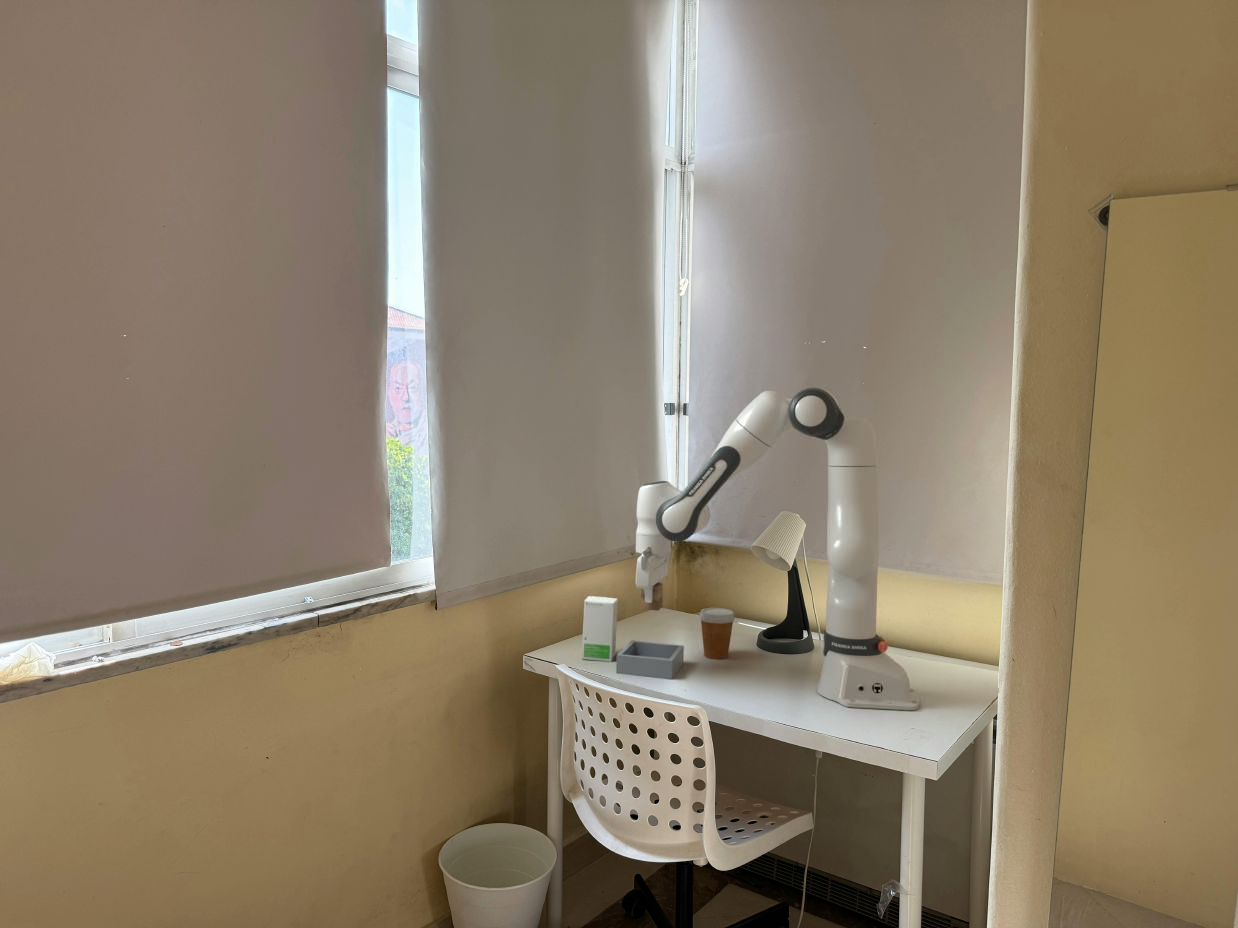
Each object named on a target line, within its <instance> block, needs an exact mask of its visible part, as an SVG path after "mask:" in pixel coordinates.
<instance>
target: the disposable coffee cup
mask: <svg viewBox="0 0 1238 928" xmlns="http://www.w3.org/2000/svg"><path fill="white" fill-rule="evenodd" d="M698 616H699V619H700V623H701V625H700V626H701V636H702V646H703V656H704V657H706V658H708V659H712V660H725V659H726V658H728V657H729V652H730V651H729V650H730V645H731V637H732V631H733V624H734V621H735V619H736V616H735V613H734V612H733V610H731V609H727V608H723V607H722V608H721V607H707V608H703V609H701V610H700V614H699V615H698Z"/></svg>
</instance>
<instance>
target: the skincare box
mask: <svg viewBox="0 0 1238 928" xmlns="http://www.w3.org/2000/svg"><path fill="white" fill-rule="evenodd" d="M618 602H619V599H618V598H613V597H605V596H595V595H594V596H593V595H589V596H587V597H586V598H585V599H584V602H583V603H584V604H583V605H584V606H583V622H582V626H583V627H582V643H581V645H582V647H581V660H588V661H589V660H590V661H601V662H608V663H609V662H611V663H612V661H613V660H614V657H616V656H615V655H616V642H617V624H618Z"/></svg>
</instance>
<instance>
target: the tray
mask: <svg viewBox="0 0 1238 928" xmlns="http://www.w3.org/2000/svg"><path fill="white" fill-rule="evenodd" d="M684 653H685V645H682V644H671V643H662V642H653V641H642V640H635V639H634V640H633V639H632V640H630V642H628V644H626V645H625V646H624V647H623V648H622V649H621V650H620V651H619V652H618V653H617V654H616V663H615V664H616V667H615V670H616V674H621V675H631V676H641V677H648V678H657V679H665V680H672V679H674V677H675V675H676V674H677V672H678V671H679V670H680V668H681V667H682V665H684V657H685V656H684V655H685V654H684Z"/></svg>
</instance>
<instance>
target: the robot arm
mask: <svg viewBox="0 0 1238 928" xmlns="http://www.w3.org/2000/svg"><path fill="white" fill-rule="evenodd" d="M840 405H841V404H840V403H839V402H838V399H837V398H836V397H835V396H834V394H832V393H831V392H830V391H828V390H826V389H823V388H819V387H807V388H804V389H802V390H800V391H799V392H797V393H796V394H795V395H794V396H793V397H792V398H788V397H787V396H785V395H783V394H782V393H781V392H778V391H774V390H765V391H762V392H761V393H760V394H758V395H757V396H756V397H754V398H753V400H751V401H750V403H748V404H747V405H746V406H745V407H744V408H743V410H742V411H741V412H740V413H739V414H738V416H737V417H736V418H735V419H734V420H733V422H732V423H731V424H730V426H729V427H728V429H727V430H726V432H725V433H724V434H723V436H722V438H721V440H720V441H719V443H718V445H717V446H716V448H715V450H714V451H713V452H712V455H711V456H710V457H709V459H708V460H707V462H706V463H705V464H704V465H703V467H702V468H701V469H700V470H699V471H698V473H697V474H696V475H695V476H694V477H693V479H691V481H690V482H689V483H688V484H687V486H685V488H683V490H681V489H679V488H677V487H675V486H674V485H673V484H671V482H669V481H666V480H660V481H653V482H648V483H645V484H643V485H641V486H640V487H639V490H638V492H637V493H638V494H637V500H636V519H637V526H636V527H637V528H636V530H635V552H636V553H637V554H640V556H639V557H637V561H636V569H635V586H636V587H635V588H637V589H641V588H642V589H644V594H645V602H646V603H651V602H652V601H653V590H652V589H653V586H654V585H655V584H656V583H661V580H662V579H664V578H665V577H667V575H668V573H669V570H670V560H671V559H670V558H671V552H672V551H671V550H672V549H673V546H674V545H673V542H675V543H679V542H684V541H687V540H688V539H689V538H691V537H692V536H693V535H695V534H697V533H700V532H701V531H703V529H705V527H707V525H708V523H709V520H710V515H711V512H710V508H709V506H708V504H709V503H710V501H711V500H712V499H713V498H714V496H715V495H717V493H718V492H719V491H720V489H722V488H723V486H724V485H725V484H726V483H727V482H729V481H730V480H731V479H732V478H734V477H736V476H737V475H740V474H741V473H743V472H745V471H747V470H750V469H752V468H753V467H754V466H755V465H757V464H758V463H759V462H761V460H762V459H763V458H764V457H766V455H767V454H768V453H769V452H770V451H771V450H772V448H773V447H774V446H775V445H776V443H777V442H779V439H780V438H781V437H783V435H785V434H786V433H788V432H789V431H791V430H792V431H793V430H796V431H798V432H799V433H801V434H803V435H806V436H808V437H813V438H816V439H820V440H823V441H824V442H825V445H826V448H827V519H826V521H827V522H826V523H827V525H826V526H827V528H826V530H827V531H826V532H827V533H826V556H827V557H826V558H827V562H828V574H827V575H828V577H827V591H826V610H825V611H826V612H825V615H826V616H825V629H824V631H823V636H822V653H823V662H822V668H821V672H820V677H819V681H818V684H817V686H816V692H817V693H818V694H819V695H820V696H822V697H825V698H826V699H829V700H831V701H834V702H837V703H838V704H840V705H842V706H843V707H847V708H860V709H861V708H862V709H876V710H877V709H880V710H897V711H898V710H902V711H915V710H918V709H919V707H920V706H921V699H920V698H921V697H920V695H919V694H918V692H917V691H916V690H915V689H913V688H911V685H910V684H911V683H910V679H909V676H908V673H907V672H906V670H905V669H904V667H902V666H901V665H900V664H899V663H898V662H897V661H896V660H894V658H892V657H891V656H889V655H888V654H887V653H886V651H888V649H889V647H888V644H887V642H886V641H885V639H884V638H883V635H880V636H879V635H878V634H877V633H876V631H877V605H878V572H879V571H878V568H879V567H878V566H879V565H878V563H879V556H880V553H879V552H880V549H879V548H880V547H879V546H880V545H879V543H880V542H879V540H880V539H879V455H878V444H877V443H878V442H877V437H876V432H875V429H874V426H873V425H872V423H871V422H869V421H868V420H867V419H865V418H862V417H857V416H847V415H845V414H844V413H843V412H842V409H841V406H840Z"/></svg>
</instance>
